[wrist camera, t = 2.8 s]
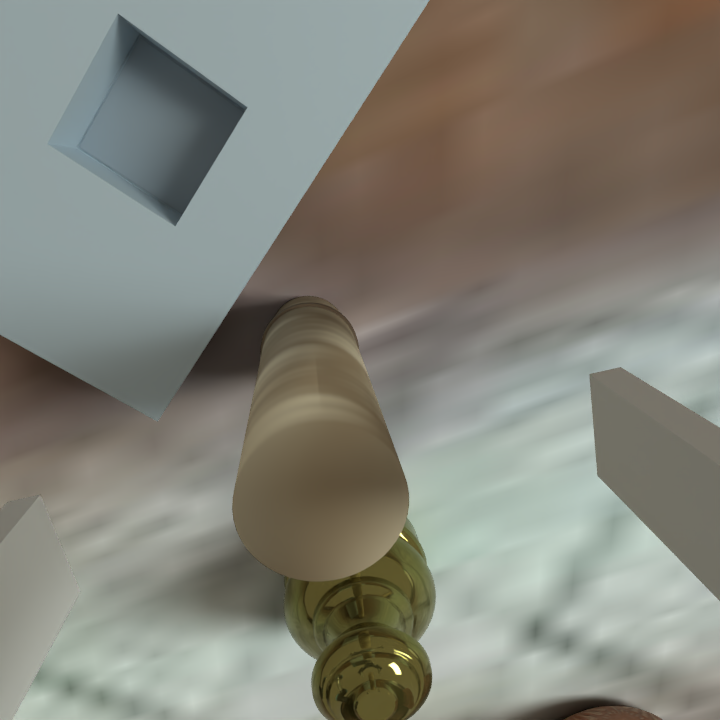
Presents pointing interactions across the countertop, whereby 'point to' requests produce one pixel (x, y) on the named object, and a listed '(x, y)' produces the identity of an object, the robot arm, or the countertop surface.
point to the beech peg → (316, 453)
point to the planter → (613, 714)
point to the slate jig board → (163, 165)
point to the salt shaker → (367, 634)
